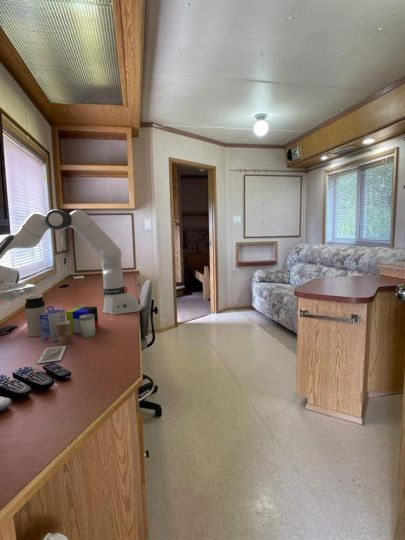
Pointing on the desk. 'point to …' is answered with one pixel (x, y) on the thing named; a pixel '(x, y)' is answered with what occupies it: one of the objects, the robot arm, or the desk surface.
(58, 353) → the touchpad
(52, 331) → the ink cartridge box
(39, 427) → the desk surface
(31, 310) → the travel mug
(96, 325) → the puzzle toy
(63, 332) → the brown cylindrical container
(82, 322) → the sage canister
